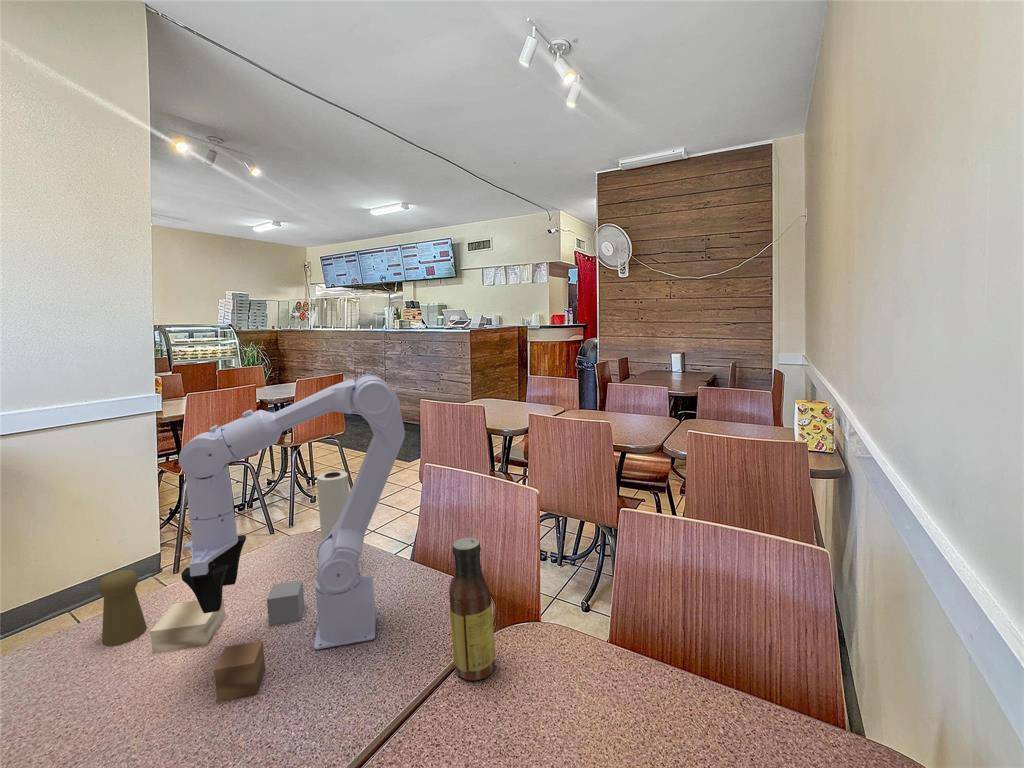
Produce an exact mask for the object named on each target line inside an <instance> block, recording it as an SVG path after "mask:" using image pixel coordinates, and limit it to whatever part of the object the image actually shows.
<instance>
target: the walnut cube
mask: <svg viewBox="0 0 1024 768" xmlns="http://www.w3.org/2000/svg"><path fill="white" fill-rule="evenodd" d="M219 657H220V658H219V660H218V661H217V663H216V665H215V667H214V670H213V671H214V673H213V674H214V680H215V681H214V683H215V691H216V692H215V693H216V701H217V703H222V702H223V703H224V702H228V701H232V700H238V699H242V698H243V699H244V698H248V697H252V696H253V697H254V696H257V695H258V693H259V690H260V688H261V685H262V681H263V679H264V676H265V674H266V673H265V672H266V664H265V652H264V642H263V640H259V641H252V642H248V643H247V642H246V643H240V644H235V645H229V646H225V647H224V649H223V651H222V653H221V655H220V656H219Z"/></svg>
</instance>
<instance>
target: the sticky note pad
mask: <svg viewBox="0 0 1024 768" xmlns="http://www.w3.org/2000/svg"><path fill="white" fill-rule="evenodd" d="M225 618H226V608H225V599H224V596H222V604H221V608H220V610H219V611H217V612H210V613H203V611H202V609H201V607H200V604H199V602H198V600H191V601H185V602H184V601H183V602H177V603H176V602H175V603H172V605H171V606H170V607H169V609H167V611H166V612H165V613H164V614H163V615H162V617H161V618H160V619H159V620H158V621H157V622H156V624H154V626H153V627H152V629H151V630H149V634H150V643H151V651H152V653H153V654H155V653H161V652H168V651H176V650H182V649H189V648H190V649H191V648H197V647H202V646H203V647H204V646H208V645H209V644H210V642H211V640H212V639H213V637H214V636H215V634H216V632H217V631H218V630H219V628H218V627H220V626H221V625H222V623H223V621H224V620H223V619H225ZM221 622H222V623H221ZM220 624H221V625H220ZM219 625H220V626H219ZM216 630H217V631H216ZM213 635H214V636H213ZM208 643H209V644H208Z"/></svg>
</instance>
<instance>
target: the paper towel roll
mask: <svg viewBox="0 0 1024 768" xmlns="http://www.w3.org/2000/svg"><path fill="white" fill-rule="evenodd" d="M316 485H317V495H318V496H317V499H318V511H319V512H318V513H319V523H320V524H319V526H320V540H321V542H322V541H323V540H324V539H325V538H326V537H327V536H328V535H329V534H330V532H331V530H332V528H333V526H334V525H335V523H336V522H337V521H338V520H339V517H340V515H341V513H342V510H343V508H344V505H345V503H346V501H347V498H348V496H349V493H350V489H349V487H350V485H349V474H348V472H346V471H344V470H339V469H334V468H331V470H330V471H327V472H323V473H321V474H319V475H317V477H316Z"/></svg>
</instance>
